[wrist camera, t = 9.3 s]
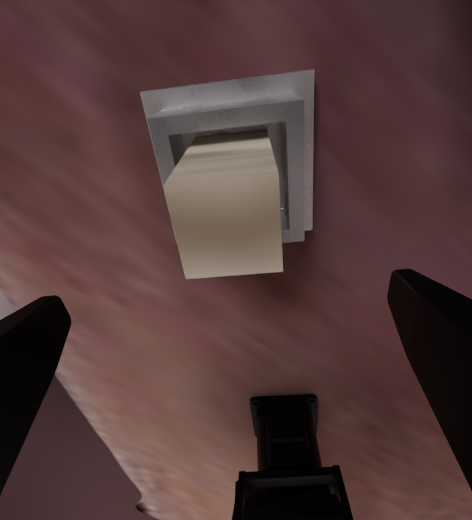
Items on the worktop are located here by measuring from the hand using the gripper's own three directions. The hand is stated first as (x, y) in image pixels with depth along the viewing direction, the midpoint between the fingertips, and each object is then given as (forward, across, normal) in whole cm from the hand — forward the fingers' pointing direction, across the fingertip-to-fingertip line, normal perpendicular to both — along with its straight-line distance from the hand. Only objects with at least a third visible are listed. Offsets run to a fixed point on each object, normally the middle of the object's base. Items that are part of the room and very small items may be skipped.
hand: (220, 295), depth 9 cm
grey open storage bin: (+13, 0, 0) cm, 13 cm away
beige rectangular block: (+12, 0, 0) cm, 12 cm away
